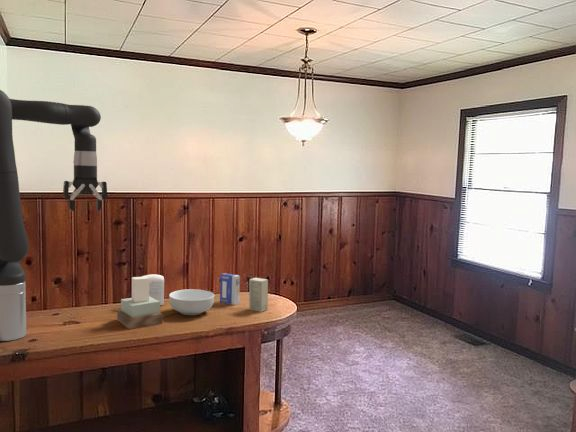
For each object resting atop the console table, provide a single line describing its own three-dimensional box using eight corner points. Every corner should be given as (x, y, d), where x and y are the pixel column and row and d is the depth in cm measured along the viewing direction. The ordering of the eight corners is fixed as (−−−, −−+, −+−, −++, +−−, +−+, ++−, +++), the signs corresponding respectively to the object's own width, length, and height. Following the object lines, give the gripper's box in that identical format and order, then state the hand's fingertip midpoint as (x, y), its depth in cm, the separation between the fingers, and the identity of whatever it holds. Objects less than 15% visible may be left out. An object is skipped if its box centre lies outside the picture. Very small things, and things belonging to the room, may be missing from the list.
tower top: (132, 317, 165) (132, 305, 165) (120, 310, 173) (120, 299, 172) (159, 312, 171) (159, 301, 171) (147, 306, 179) (147, 295, 179)
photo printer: (161, 302, 197) (162, 272, 196) (165, 305, 193) (165, 274, 192) (136, 305, 191) (136, 274, 190) (139, 308, 188) (139, 276, 186)
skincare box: (267, 309, 192) (268, 279, 191) (261, 312, 188) (262, 281, 187) (254, 306, 195) (255, 277, 194) (248, 309, 192) (249, 278, 190)
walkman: (219, 302, 201) (220, 273, 200) (223, 300, 203) (224, 272, 202) (235, 305, 197) (236, 275, 196) (239, 303, 199) (240, 274, 198)
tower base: (128, 330, 164) (128, 318, 163) (117, 320, 173) (117, 309, 173) (162, 324, 171) (162, 313, 170) (150, 316, 180) (150, 305, 180)
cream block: (134, 302, 169) (134, 279, 168) (131, 299, 172) (131, 277, 171) (149, 300, 171) (149, 278, 171) (145, 298, 175) (146, 276, 174)
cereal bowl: (198, 321, 174) (198, 302, 174) (159, 315, 180) (159, 296, 180) (222, 309, 190) (222, 292, 189) (185, 304, 196) (185, 286, 195)
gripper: (65, 163, 163) (66, 212, 165) (109, 165, 171) (109, 211, 173) (61, 163, 169) (61, 210, 171) (103, 165, 177) (103, 209, 179)
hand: (85, 210), depth 172 cm, fingers open, 8 cm apart
